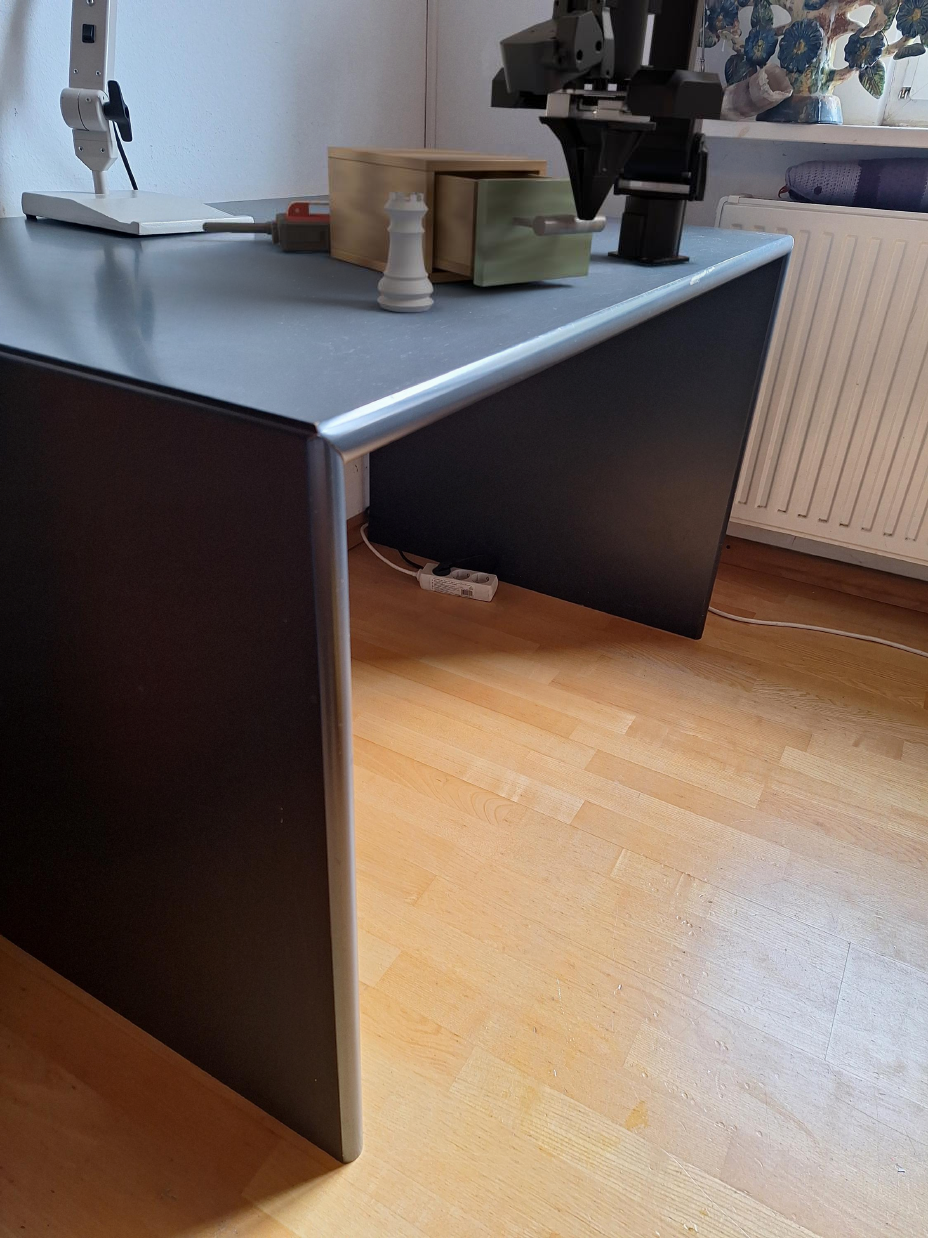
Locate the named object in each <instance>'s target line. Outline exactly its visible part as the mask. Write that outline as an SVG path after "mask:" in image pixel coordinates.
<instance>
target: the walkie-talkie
mask: <svg viewBox="0 0 928 1238" xmlns="http://www.w3.org/2000/svg"><path fill="white" fill-rule="evenodd" d="M310 205H311V206H329V200H300V199H299V200H298V199H295V200H291V201H289V203H288V204H287V205H286V209H285V211H286V212H279V213H276V214H275V218H274V219H271V221H266V222H232V221H231V222H229V221H226V222H225V221H224V222H223V221H222V222H221V221H205V222H203V224H202V227H201V228H202V231H203V232H205V233H229V234H266V235H267V236H271V243H272V244H273V245H279V247H280V248H281V250H282V251H283V252H284V253H285V252H286V253H331V242H330V213H324V212H323V213H317V212H310Z"/></svg>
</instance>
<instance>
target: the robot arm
mask: <svg viewBox="0 0 928 1238" xmlns="http://www.w3.org/2000/svg"><path fill="white" fill-rule="evenodd" d="M552 5H553V8H552V15H551V18H550V19H547V20H545V21H542V22H539V23H536V24H533V25H531V26H530V27H529V26H528V27H527V28H524V29H523V30H521V31H519V32H516V33H514V34H512V35H510V36H507V37H505V38H504V39H501V40H500V42H499V47H500V53H501V59H502V67H500V69H499V70H498V71H497V73H496V74H495V75H494V77H493V79H492V80H491V92H490V93H491V94H490V97H491V98H490V108H497V109H498V108H499V109H500V108H501V109H515V110H517V109H521V110H541V111H542V110H544V111H545V116H544V115H542V116H541V115H538V121H539V122H540V124H541V125H546V126H547V127H548V128H549V129H550V131H551V132H552V133H553V135H554V136H555V137H556V138H557V140H558V141H559V143H560V145H561V149H562V152H563V155H564V159H565V162H566V168H567V172H568V178H570V182H571V187H572V192H573V197H574V202H575V207H576V212H577V216H578V219H579V220H584V221H592V220H594V219H595V217H596V215H597V213H598V212H600V210H601V208H602V206H603V205H604V202H605V200H606V199H607V197H608V195H609V193H610V191H611V190H612V188H613V193H612V194H613V196H625V200H624V202H625V203H624V210H623V212H622V213H621V221H620V228H619V234H618V235H619V237H618V244H617V250H614V251H613V250H612V251H607V257H609V258H612V259H613V258H614V259H619V260H623V261H629V262H633V263H638V264H642V265H646V266H647V265H649V266H660V265H670V264H679V263H687V262H688V263H689V262H690V256H686V255H681V254H680V248H681V243H682V242H681V241H682V236H683V229H684V223H685V218H686V211H687V203H689V202H690V203H694V202H705V197H706V191H707V184H708V174H709V158H710V150H709V148H708V146H707V140H706V133H705V132H702V130H703V124H704V120H706V121H707V120H709V121H720V120H721V115H722V107H723V103H724V97H725V91H724V88H723V84H722V82H721V79H720V76H719V73H718V72H708V71H698V70H695V67H696V61H697V53H698V47H699V41H700V33H701V27H702V21H703V14H704V7H705V0H553V4H552ZM649 16H653V23H652V31H651V38H650V47H649V54H648V61H647V63H648V64H643V59H644V51H645V44H646V38H647V37H646V36H647V30H648V29H647V27H648V20H649ZM586 85H591V89H586ZM609 85H616V89H615V90H609ZM631 182H635V183H636V182H637V183H652V184H662V185H663V184H664V185H674V186H675V185H676V186H687V187H688V186H689V187H688V189H676V188H675V189H674V188H663V187H651V186H637V185H631Z"/></svg>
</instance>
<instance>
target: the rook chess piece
mask: <svg viewBox="0 0 928 1238" xmlns="http://www.w3.org/2000/svg"><path fill="white" fill-rule="evenodd" d="M384 208H385V209H386V211H387V213H388V214H389V216H390V220H391V222H390V226H389V227H388V229H387V230H388V232H389V233H390V248H389V256H388V263H387V267H386V270H385V271H384V272H382V273H383V277H382V278H381V279H380V280H379V281H378V285H377V290H378V291H379V293H380V294H381V295H380V296H378V297H377V298H376V302H377V303H378V305H379V306H380V308H382V309H383V310H385V311H390V312H396V313H422V312H426V311H428V310H430V309H431V308H432V306H433V305H434V303H435V301H434V299H433V298H431V294H432V293H433V292H434V287H433V283H431V282H430V281H429V280H428V278H427V277H428V273H426V272H425V267H424V262H423V252H422V235H423V233H424V232H425V231H424V229H423V228H422V218H423V217H424V215H425V214H426V212H427V210H428V208H427V206H426V205H425V203H424V202H423V194H422V193H417V195H415V192H408V197H404V195H403V192H396V194H395V192H389V200H388V202H387V203H386V205H385V206H384Z"/></svg>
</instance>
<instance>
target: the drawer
mask: <svg viewBox="0 0 928 1238" xmlns="http://www.w3.org/2000/svg"><path fill="white" fill-rule="evenodd" d="M606 225H607V217H606V216H605V213H602V212H600V211H598V213H597V215H596V217H595V219H594V220H592V221H584V220H579V219H578V216H577V212H576V207H575V202H574V197H573V192H572V187H571V182H570V177H559V176H558V177H557V176H552V175H551V176H549V175H546V176H544V175H536V174H528V173H521V172H513V171H434V211H433V254H432V267H435V268H439V269H443V270H447V271H450V272H454V273H458V274H462V275H466V276H469V277H473V276H474V279H473V284H474V285H475V286H479V287H482V288H483V287H484V288H485V287H493V286H501V285H513V284H521V283H531V282H540V281H548V280H549V281H550V280H558V279H559V280H561V279H568V278H570V279H571V278H579V277H588V276H589V268H590V260H591V251H592V244H593V234H594V233H601V232H603V231H604V230H605V228H606Z"/></svg>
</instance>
